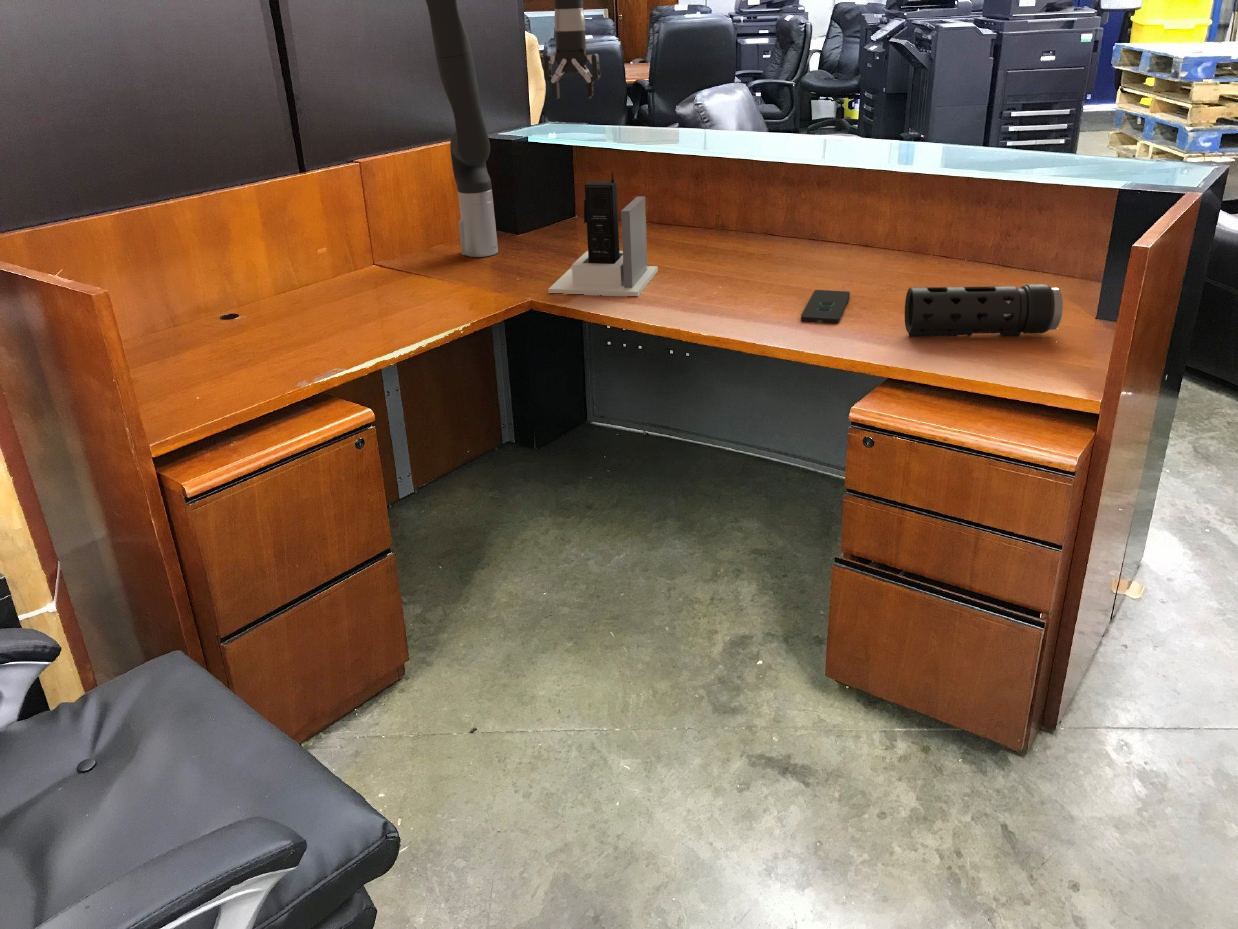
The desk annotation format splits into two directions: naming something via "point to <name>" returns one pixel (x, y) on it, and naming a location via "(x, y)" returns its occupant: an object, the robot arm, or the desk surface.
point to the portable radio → (602, 221)
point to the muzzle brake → (982, 310)
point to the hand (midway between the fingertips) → (573, 98)
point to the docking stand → (622, 275)
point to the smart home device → (825, 306)
